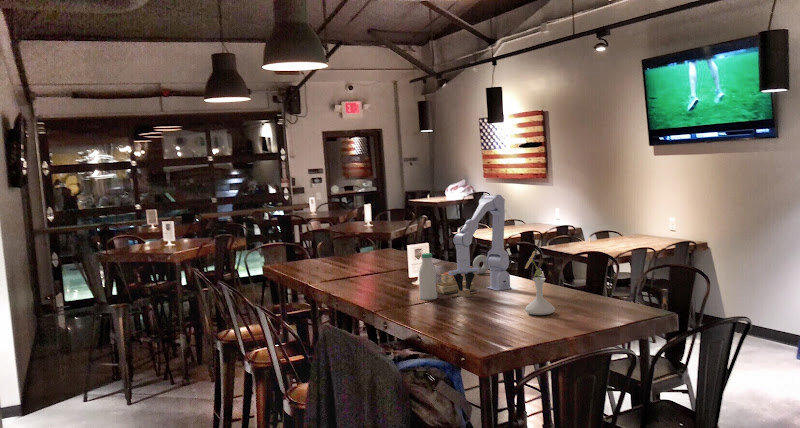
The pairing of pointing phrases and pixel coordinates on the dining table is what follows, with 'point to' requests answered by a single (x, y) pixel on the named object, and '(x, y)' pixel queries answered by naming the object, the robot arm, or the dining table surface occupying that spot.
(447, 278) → the key channel
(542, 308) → the flower in vase
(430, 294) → the milk bottle
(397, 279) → the dining table surface
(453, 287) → the wooden box
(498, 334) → the dining table surface
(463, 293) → the pale green plate
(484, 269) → the donut
